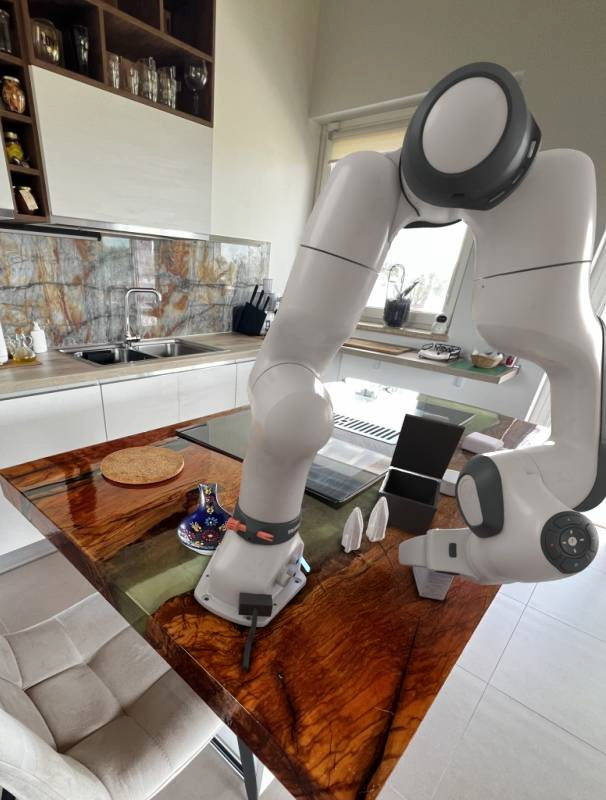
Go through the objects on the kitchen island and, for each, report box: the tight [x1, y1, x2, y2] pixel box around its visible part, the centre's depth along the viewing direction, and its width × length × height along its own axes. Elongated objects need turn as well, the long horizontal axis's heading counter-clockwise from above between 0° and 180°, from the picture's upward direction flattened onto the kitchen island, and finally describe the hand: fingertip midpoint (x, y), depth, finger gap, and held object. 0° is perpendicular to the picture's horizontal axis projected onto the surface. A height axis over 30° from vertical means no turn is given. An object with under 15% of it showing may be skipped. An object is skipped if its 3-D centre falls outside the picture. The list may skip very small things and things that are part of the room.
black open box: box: [373, 466, 441, 536], centre depth 101 cm, size 16×13×8 cm
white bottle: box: [461, 431, 510, 455], centre depth 139 cm, size 5×9×15 cm
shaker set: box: [341, 497, 389, 553], centre depth 88 cm, size 12×4×11 cm, turn 116°
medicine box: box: [412, 566, 455, 601], centre depth 78 cm, size 8×4×9 cm, turn 169°
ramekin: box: [435, 468, 460, 497], centre depth 114 cm, size 9×9×4 cm
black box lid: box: [389, 412, 466, 480], centre depth 99 cm, size 16×13×5 cm
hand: (441, 562), depth 76 cm, fingers open, 8 cm apart
